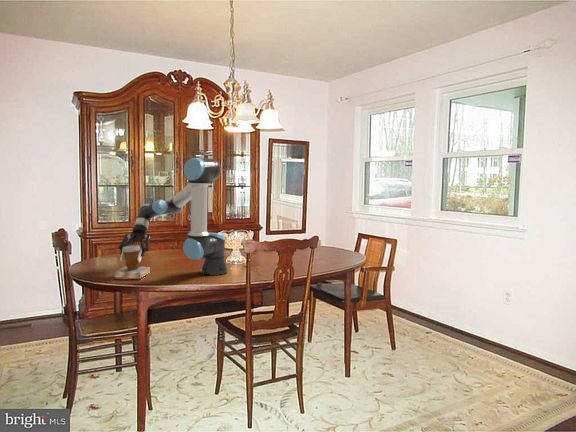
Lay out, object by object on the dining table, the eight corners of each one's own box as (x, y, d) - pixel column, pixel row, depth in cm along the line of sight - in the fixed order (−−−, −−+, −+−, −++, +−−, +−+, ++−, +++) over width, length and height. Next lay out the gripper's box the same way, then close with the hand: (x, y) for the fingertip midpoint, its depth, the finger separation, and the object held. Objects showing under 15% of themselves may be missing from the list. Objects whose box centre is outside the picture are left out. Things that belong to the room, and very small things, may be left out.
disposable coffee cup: (132, 271, 225) (129, 249, 223) (120, 269, 230) (117, 248, 228) (146, 266, 233) (144, 245, 232) (134, 265, 238) (132, 244, 236)
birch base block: (149, 274, 239) (149, 266, 239) (140, 280, 225) (140, 272, 225) (125, 273, 240) (125, 266, 240) (114, 279, 226) (114, 271, 226)
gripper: (161, 231, 245) (151, 265, 231) (124, 231, 246) (112, 264, 232) (157, 223, 240) (147, 257, 225) (120, 223, 240) (107, 256, 226)
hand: (129, 260), depth 229 cm, fingers closed on disposable coffee cup, 9 cm apart
